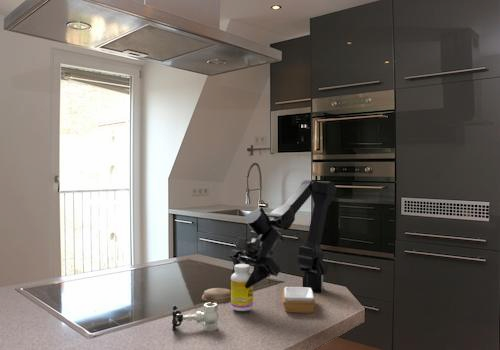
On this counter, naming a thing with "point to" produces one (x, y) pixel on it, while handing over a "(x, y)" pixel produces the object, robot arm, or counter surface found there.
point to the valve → (198, 317)
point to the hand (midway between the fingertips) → (238, 285)
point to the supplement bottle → (241, 288)
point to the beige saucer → (217, 295)
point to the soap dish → (298, 299)
